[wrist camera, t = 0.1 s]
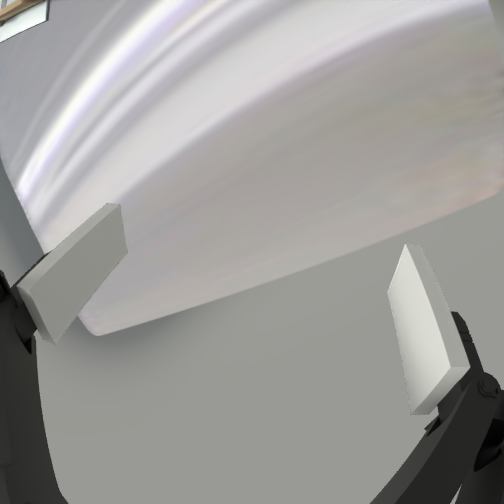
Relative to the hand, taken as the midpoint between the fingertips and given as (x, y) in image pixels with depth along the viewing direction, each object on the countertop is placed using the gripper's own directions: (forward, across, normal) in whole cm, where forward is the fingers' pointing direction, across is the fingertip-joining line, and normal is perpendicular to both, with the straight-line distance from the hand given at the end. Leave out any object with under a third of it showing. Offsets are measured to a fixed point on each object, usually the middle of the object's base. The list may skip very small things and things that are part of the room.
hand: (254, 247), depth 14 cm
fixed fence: (+28, -48, +25) cm, 61 cm away
